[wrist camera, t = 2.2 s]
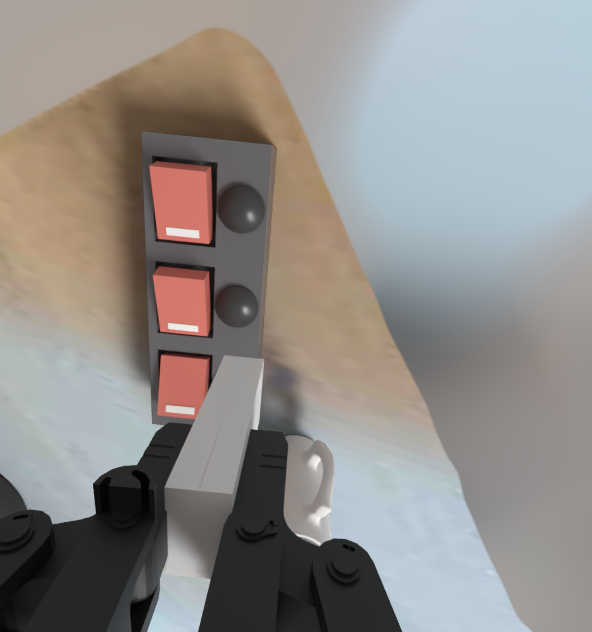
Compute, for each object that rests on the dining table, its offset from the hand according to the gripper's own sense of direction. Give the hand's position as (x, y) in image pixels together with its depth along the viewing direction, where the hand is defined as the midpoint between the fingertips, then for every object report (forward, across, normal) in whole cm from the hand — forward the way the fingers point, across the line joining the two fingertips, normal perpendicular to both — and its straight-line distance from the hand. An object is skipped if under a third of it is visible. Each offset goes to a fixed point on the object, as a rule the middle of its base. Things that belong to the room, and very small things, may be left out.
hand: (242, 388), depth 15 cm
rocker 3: (+16, -7, -10) cm, 20 cm away
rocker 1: (+16, -7, +5) cm, 18 cm away
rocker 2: (+16, -7, -2) cm, 17 cm away
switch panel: (+20, -5, -9) cm, 23 cm away
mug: (+21, +4, -19) cm, 28 cm away
